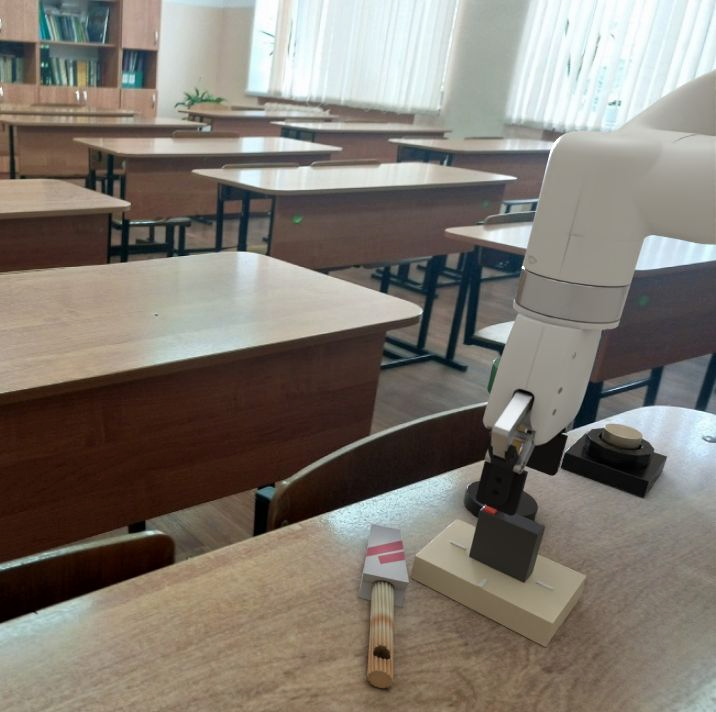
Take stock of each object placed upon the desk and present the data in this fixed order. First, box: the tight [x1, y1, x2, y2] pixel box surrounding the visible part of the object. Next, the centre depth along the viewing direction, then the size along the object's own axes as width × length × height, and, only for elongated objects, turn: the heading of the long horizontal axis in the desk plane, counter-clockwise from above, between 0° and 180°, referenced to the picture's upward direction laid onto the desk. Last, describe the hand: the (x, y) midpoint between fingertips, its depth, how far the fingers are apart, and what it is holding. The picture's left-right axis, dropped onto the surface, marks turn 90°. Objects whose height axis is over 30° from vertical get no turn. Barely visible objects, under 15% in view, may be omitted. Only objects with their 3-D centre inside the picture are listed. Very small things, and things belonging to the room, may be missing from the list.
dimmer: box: [410, 518, 588, 648], centre depth 66 cm, size 12×9×3 cm
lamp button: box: [601, 423, 643, 450], centre depth 88 cm, size 4×4×2 cm
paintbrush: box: [357, 523, 410, 689], centre depth 64 cm, size 4×3×20 cm
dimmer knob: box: [469, 505, 546, 582], centre depth 65 cm, size 5×2×5 cm, turn 46°
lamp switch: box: [560, 427, 668, 499], centre depth 89 cm, size 9×9×4 cm
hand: (517, 487), depth 63 cm, fingers open, 9 cm apart
